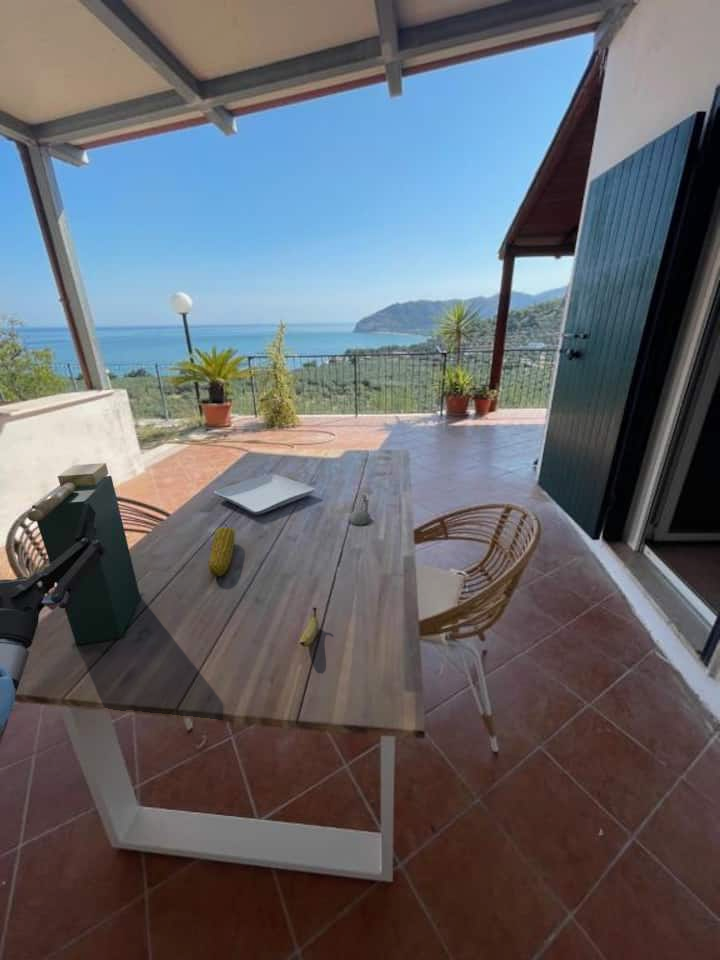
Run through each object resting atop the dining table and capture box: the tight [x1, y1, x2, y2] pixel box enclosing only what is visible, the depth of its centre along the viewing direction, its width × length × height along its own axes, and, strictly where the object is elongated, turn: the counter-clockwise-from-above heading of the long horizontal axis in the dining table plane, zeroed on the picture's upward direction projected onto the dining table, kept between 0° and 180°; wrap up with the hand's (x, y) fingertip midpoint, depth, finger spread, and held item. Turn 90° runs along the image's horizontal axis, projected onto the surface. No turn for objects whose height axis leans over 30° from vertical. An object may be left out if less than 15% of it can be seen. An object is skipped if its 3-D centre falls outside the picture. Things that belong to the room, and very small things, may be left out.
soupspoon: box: [349, 494, 371, 526], centre depth 135 cm, size 22×3×7 cm
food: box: [209, 526, 236, 577], centre depth 105 cm, size 21×6×6 cm, turn 14°
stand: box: [31, 475, 141, 646], centre depth 79 cm, size 8×14×30 cm, turn 14°
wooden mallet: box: [26, 462, 109, 522], centre depth 70 cm, size 6×24×2 cm, turn 14°
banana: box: [298, 607, 319, 647], centre depth 77 cm, size 10×2×4 cm, turn 172°
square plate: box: [213, 473, 316, 516], centre depth 146 cm, size 27×27×4 cm
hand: (42, 512), depth 62 cm, fingers open, 13 cm apart
